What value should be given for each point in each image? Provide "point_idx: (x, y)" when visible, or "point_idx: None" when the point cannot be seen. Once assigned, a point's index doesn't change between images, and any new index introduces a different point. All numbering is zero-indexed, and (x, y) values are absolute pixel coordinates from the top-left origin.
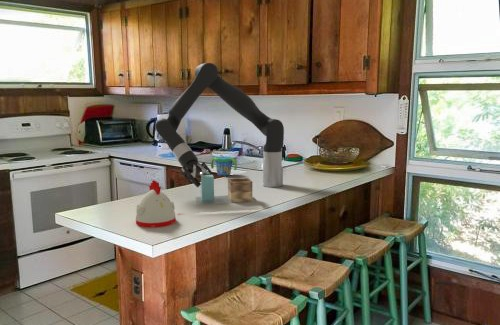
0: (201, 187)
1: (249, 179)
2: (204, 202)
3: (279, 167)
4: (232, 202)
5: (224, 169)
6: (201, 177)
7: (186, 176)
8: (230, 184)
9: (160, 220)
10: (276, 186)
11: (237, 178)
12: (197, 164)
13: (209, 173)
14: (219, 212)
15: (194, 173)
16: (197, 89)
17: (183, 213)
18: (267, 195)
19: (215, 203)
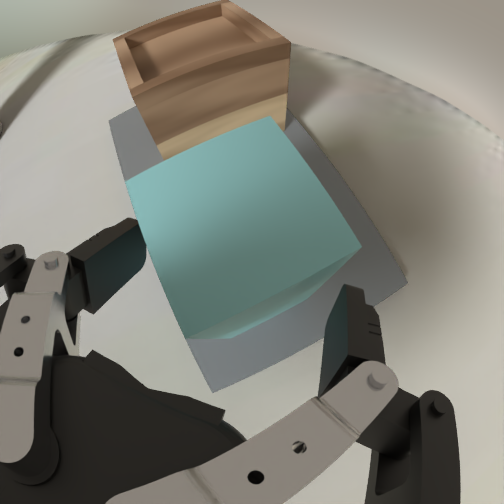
0: (264, 315)
1: (163, 18)
2: (346, 264)
3: None
4: (289, 124)
5: None
6: (308, 278)
7: (397, 476)
8: (271, 60)
9: None
10: (1, 125)
11: (127, 61)
12: (7, 458)
13: (53, 253)
14: (427, 154)
15: (333, 410)
16: None
17: (497, 294)
18: (97, 89)
19: (345, 192)
